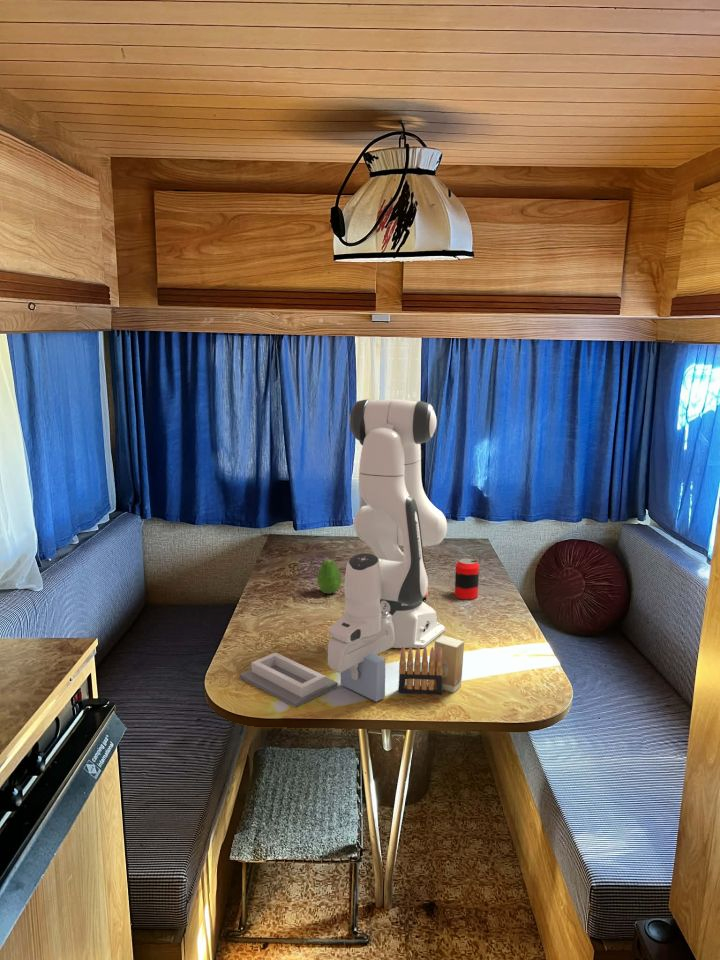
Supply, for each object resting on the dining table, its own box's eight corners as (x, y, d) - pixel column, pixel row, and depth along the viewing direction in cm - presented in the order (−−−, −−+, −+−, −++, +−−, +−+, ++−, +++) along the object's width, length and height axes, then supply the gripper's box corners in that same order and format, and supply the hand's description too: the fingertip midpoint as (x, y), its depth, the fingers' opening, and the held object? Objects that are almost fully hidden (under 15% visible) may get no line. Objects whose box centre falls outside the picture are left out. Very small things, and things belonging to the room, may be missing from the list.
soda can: (479, 600, 236) (481, 565, 234) (456, 600, 236) (457, 565, 234) (475, 591, 244) (477, 557, 241) (453, 591, 243) (454, 557, 241)
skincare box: (431, 686, 180) (433, 640, 177) (439, 679, 183) (441, 634, 181) (454, 693, 176) (456, 647, 174) (462, 686, 180) (464, 640, 177)
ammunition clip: (441, 691, 177) (443, 645, 175) (442, 695, 176) (443, 649, 173) (398, 689, 178) (399, 644, 176) (398, 693, 176) (399, 647, 174)
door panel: (348, 680, 182) (349, 643, 179) (384, 697, 174) (385, 658, 171) (340, 684, 180) (340, 647, 177) (376, 701, 172) (376, 663, 169)
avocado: (314, 596, 238) (313, 561, 236) (322, 587, 246) (322, 554, 243) (337, 598, 236) (337, 563, 234) (344, 590, 244) (344, 556, 241)
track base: (281, 659, 193) (281, 647, 193) (337, 686, 179) (337, 673, 179) (239, 677, 183) (239, 665, 183) (295, 707, 169) (295, 694, 169)
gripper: (381, 606, 182) (381, 656, 185) (323, 630, 168) (323, 685, 171) (401, 613, 178) (400, 664, 181) (342, 639, 163) (342, 694, 166)
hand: (362, 675), depth 176 cm, fingers closed on door panel, 3 cm apart
